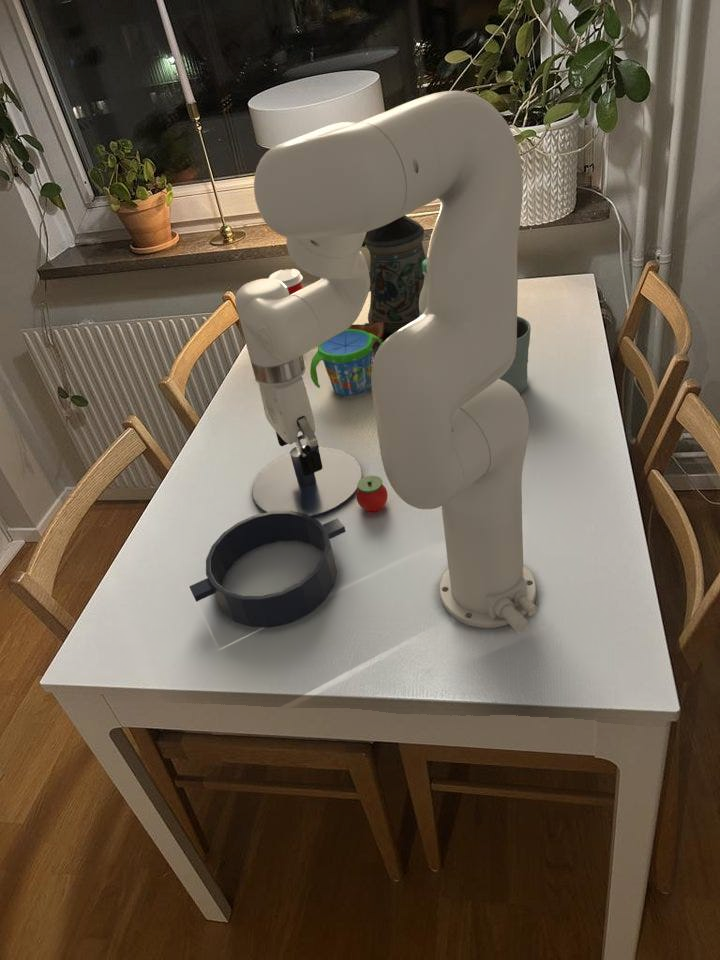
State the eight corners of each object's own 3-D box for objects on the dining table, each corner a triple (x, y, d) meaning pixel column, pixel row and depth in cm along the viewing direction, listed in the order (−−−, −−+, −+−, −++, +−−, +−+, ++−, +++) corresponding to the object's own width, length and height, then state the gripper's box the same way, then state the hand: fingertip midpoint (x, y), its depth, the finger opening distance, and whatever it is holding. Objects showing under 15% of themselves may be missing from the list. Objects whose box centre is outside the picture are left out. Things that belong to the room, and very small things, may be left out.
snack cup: (378, 364, 150) (371, 319, 144) (400, 386, 142) (393, 339, 136) (307, 389, 147) (296, 344, 141) (326, 413, 139) (315, 366, 133)
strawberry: (395, 511, 114) (390, 482, 110) (368, 523, 112) (362, 495, 109) (380, 495, 117) (375, 467, 114) (354, 507, 116) (348, 479, 112)
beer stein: (447, 338, 154) (436, 219, 139) (355, 350, 157) (335, 234, 141) (442, 304, 167) (431, 192, 152) (357, 315, 170) (338, 206, 154)
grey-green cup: (515, 366, 141) (513, 309, 134) (541, 390, 133) (541, 331, 126) (467, 382, 140) (462, 324, 132) (490, 407, 132) (487, 347, 125)
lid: (383, 490, 118) (377, 455, 114) (280, 539, 113) (269, 504, 108) (332, 439, 132) (324, 406, 127) (237, 481, 126) (226, 447, 122)
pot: (375, 583, 102) (368, 553, 99) (222, 659, 96) (209, 629, 92) (322, 517, 115) (315, 488, 112) (185, 580, 109) (172, 551, 105)
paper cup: (284, 326, 171) (271, 269, 162) (316, 324, 169) (304, 266, 161) (277, 343, 165) (262, 284, 156) (310, 340, 163) (297, 281, 155)
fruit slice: (346, 352, 156) (342, 331, 153) (352, 337, 161) (348, 316, 158) (385, 350, 154) (381, 328, 151) (389, 335, 159) (386, 313, 156)
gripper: (234, 351, 113) (259, 440, 124) (277, 399, 100) (301, 494, 111) (279, 334, 115) (299, 424, 126) (326, 379, 103) (345, 474, 113)
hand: (300, 456), depth 118 cm, fingers open, 9 cm apart
